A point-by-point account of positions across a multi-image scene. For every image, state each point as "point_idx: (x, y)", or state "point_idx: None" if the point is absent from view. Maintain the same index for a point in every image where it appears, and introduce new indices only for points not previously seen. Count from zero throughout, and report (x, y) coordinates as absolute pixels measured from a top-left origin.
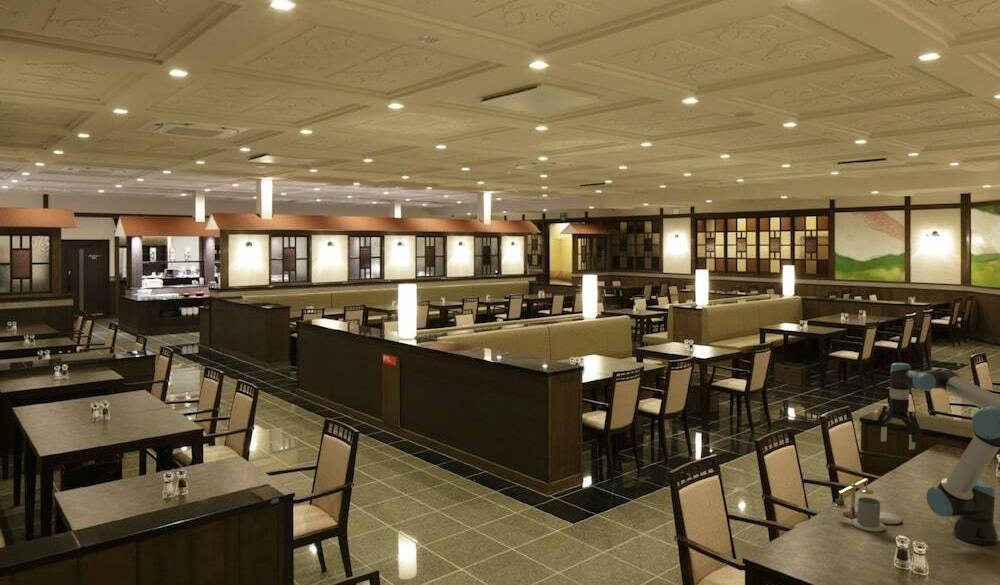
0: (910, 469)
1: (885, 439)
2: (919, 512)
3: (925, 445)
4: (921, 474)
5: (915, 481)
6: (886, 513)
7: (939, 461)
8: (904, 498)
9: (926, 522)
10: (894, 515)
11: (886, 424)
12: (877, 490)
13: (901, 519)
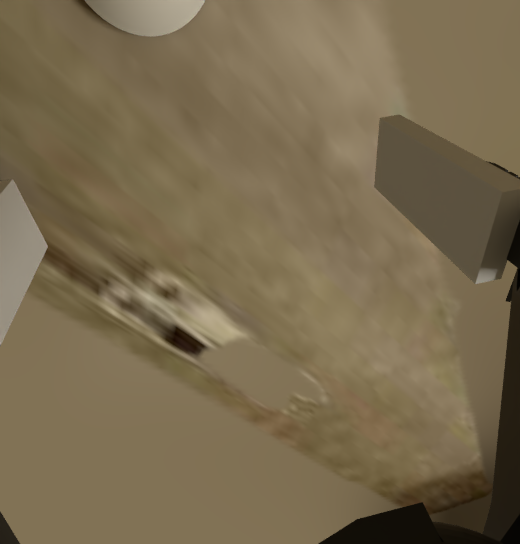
0: (448, 385)
1: (384, 180)
2: (191, 185)
3: None
4: (415, 386)
5: (392, 349)
6: (177, 2)
7: (441, 451)
8: (311, 235)
9: (91, 128)
10: (148, 22)
11: (511, 304)
12: None
13: (96, 11)
